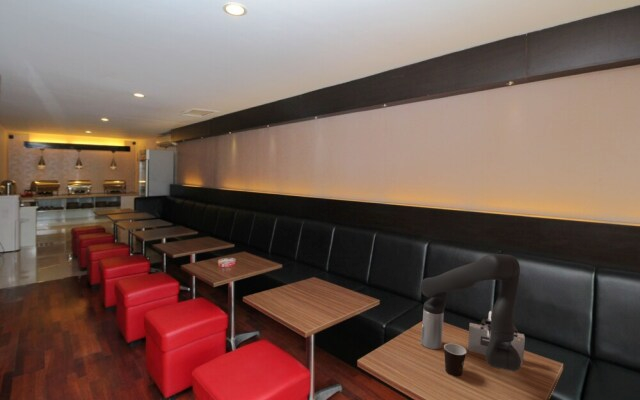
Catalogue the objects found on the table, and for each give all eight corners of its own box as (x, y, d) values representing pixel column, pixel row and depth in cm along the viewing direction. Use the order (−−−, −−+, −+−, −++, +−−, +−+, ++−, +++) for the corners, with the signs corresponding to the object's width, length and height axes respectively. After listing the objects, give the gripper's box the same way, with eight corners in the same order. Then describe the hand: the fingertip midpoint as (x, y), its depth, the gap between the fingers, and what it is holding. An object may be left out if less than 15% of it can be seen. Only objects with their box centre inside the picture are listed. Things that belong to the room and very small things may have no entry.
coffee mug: (455, 380, 124) (456, 356, 123) (438, 368, 131) (439, 346, 131) (474, 373, 129) (475, 350, 128) (456, 361, 137) (458, 340, 136)
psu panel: (467, 351, 146) (469, 326, 145) (468, 346, 150) (469, 322, 149) (523, 365, 136) (525, 338, 135) (521, 359, 140) (523, 334, 139)
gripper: (521, 332, 119) (517, 316, 134) (480, 323, 126) (479, 308, 141) (520, 351, 120) (515, 332, 135) (478, 341, 126) (478, 324, 141)
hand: (497, 320), depth 138 cm, fingers closed on can, 5 cm apart
